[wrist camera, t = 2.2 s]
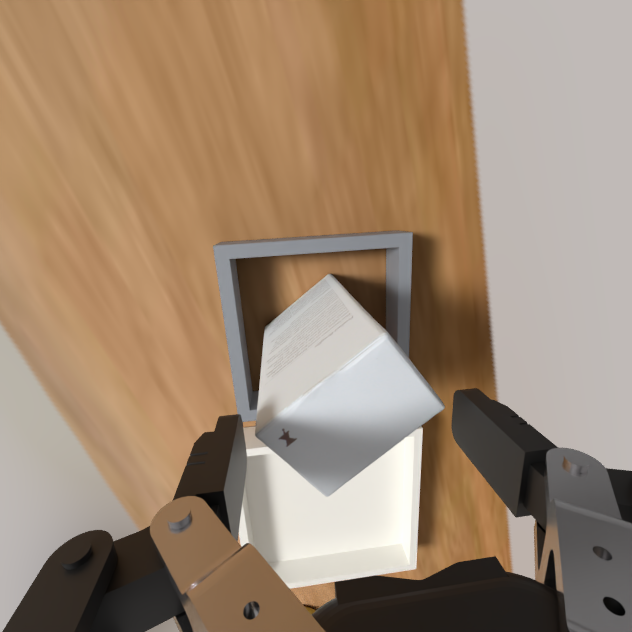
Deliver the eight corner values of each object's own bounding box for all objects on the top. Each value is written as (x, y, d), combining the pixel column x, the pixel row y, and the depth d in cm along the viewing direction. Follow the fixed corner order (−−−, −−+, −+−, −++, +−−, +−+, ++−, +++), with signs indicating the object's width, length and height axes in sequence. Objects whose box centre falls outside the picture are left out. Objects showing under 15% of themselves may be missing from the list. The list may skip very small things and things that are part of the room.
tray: (230, 429, 25) (225, 451, 23) (409, 408, 26) (422, 428, 24) (251, 564, 29) (249, 594, 27) (405, 541, 30) (416, 569, 28)
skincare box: (302, 367, 24) (323, 504, 13) (263, 326, 23) (247, 437, 12) (368, 315, 24) (451, 410, 12) (330, 269, 22) (385, 328, 11)
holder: (220, 242, 21) (213, 245, 19) (398, 230, 22) (412, 232, 20) (242, 402, 24) (239, 422, 22) (395, 385, 25) (407, 403, 23)
